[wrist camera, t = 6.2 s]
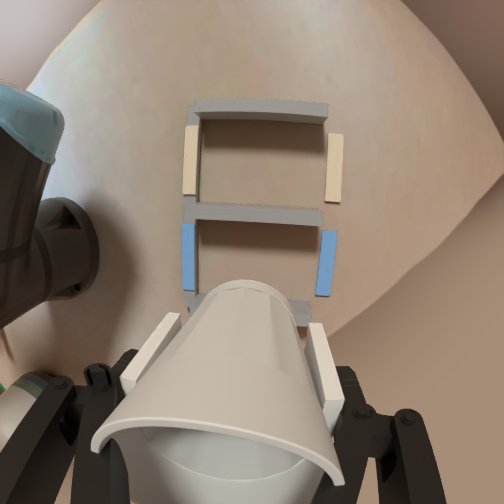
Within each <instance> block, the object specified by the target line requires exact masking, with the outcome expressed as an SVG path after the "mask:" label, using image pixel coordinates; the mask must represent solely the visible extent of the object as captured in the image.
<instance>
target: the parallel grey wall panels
mask: <svg viewBox="0 0 504 504" xmlns="http://www.w3.org/2000/svg"><path fill="white" fill-rule="evenodd" d="M327 118H328V104H324V103H315V102H305V101H294V100H279V99H255V98H214V99H194V106H188V115H187V126H186V132H185V149H184V169H183V224H182V272H183V289H184V307H189V308H190V317H191V316H192V315H193V314H194V312H195V311H196V310H197V309H198V308H199V306H200V304H201V302H202V301H203V299H204V298H205V297H206V295H207V294H198V262H197V255H198V219H205V220H227V221H246V222H263V223H280V224H295V225H309V226H322V225H323V213H324V212H323V211H321V210H319V209H315V208H302V207H287V206H272V205H254V204H234V203H208V202H198V194H199V167H200V147H201V130H202V120H216V119H236V120H269V121H287V122H300V123H311V124H321V125H322V124H323V123H324V122H325V120H326V119H327ZM342 162H343V135H341V134H333V133H328V148H327V170H326V187H325V201H332V202H340V196H341V181H342ZM336 241H337V231H324V230H322V238H321V249H320V258H319V268H318V276H317V285H316V293H315V295H324V296H330V290H331V283H332V276H333V268H334V259H335V251H336ZM287 301H288V302H289V304H290V305H291V307H292V309H293V312H294V315H295V319H296V326H305V327H308V323H311V321H312V312H311V308H310V305H309V301H292V300H287Z"/></svg>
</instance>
